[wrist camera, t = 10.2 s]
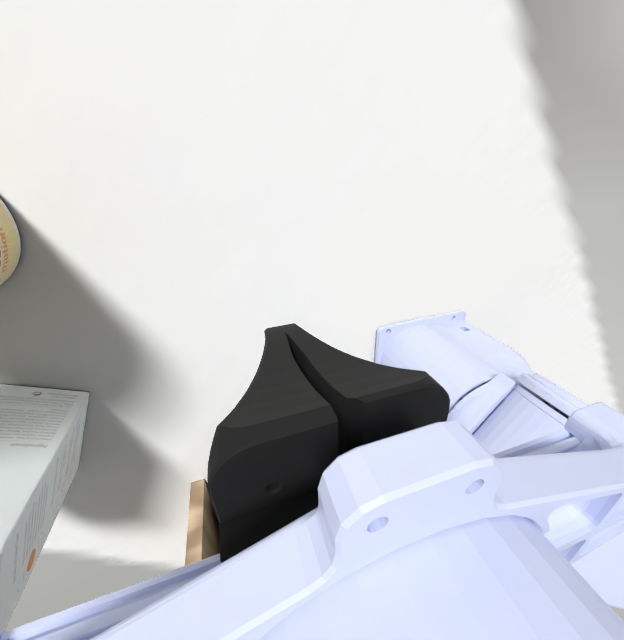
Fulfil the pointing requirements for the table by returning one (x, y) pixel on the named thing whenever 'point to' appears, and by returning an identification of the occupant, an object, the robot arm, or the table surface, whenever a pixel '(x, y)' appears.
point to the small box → (33, 476)
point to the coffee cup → (8, 243)
